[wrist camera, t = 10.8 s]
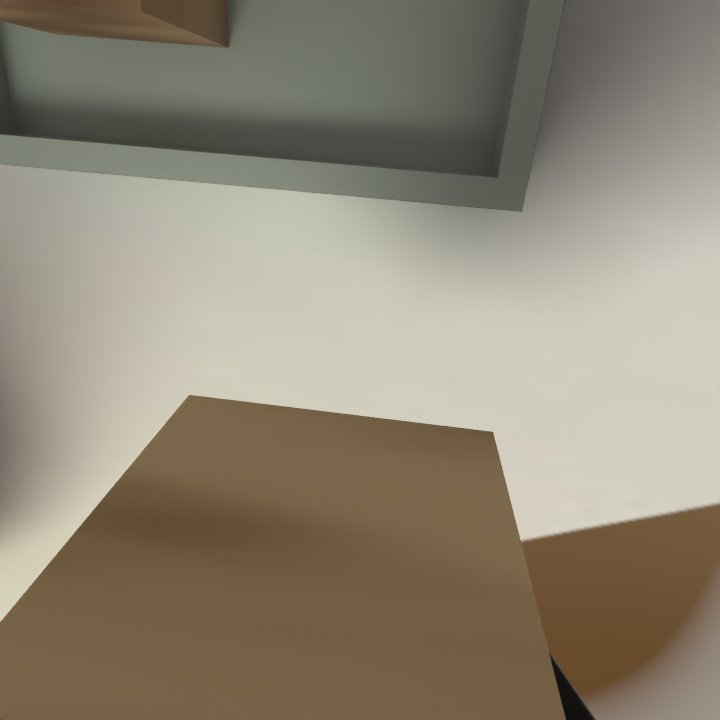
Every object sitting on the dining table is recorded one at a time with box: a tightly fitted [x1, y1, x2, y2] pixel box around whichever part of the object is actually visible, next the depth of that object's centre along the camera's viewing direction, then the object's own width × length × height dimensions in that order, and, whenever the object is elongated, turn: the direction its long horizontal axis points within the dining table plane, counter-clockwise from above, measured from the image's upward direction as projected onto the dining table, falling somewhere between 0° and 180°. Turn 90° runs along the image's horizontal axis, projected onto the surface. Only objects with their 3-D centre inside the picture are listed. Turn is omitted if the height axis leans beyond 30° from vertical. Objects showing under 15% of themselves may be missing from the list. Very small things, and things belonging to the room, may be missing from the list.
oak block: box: [0, 395, 566, 720], centre depth 7 cm, size 5×5×5 cm
